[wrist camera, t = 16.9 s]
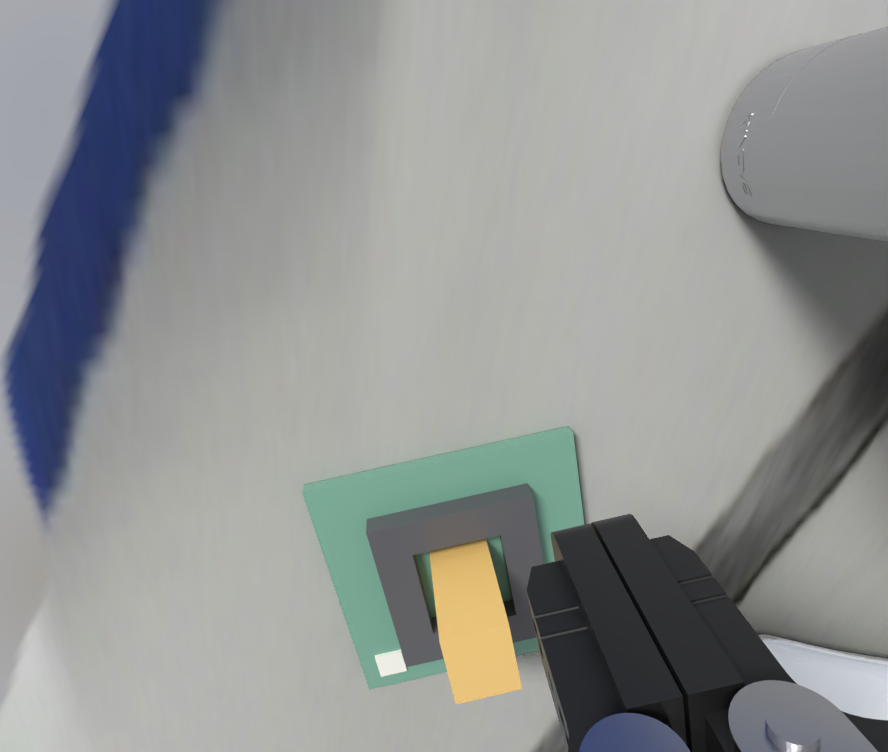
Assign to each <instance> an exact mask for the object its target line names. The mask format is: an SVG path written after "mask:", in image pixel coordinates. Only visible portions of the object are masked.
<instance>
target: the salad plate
mask: <svg viewBox="0 0 888 752" xmlns="http://www.w3.org/2000/svg"><path fill="white" fill-rule="evenodd" d="M758 636H759V637H760V638H761V640H762V641H763V642H764V644H765V645H766V646H767V648H768V649H769V650H770V651H771V653H772V654H773V655H774V657H775V658H776V659H777V661H778V662H779V663H780V665H781V666H782V667H783V668H784V670H785V671H786V672H787V674H788V675H789V676H790V677H791V678H792V679H793V680H794V681H795V682H796V683H797V684H798V685H800V686H803V687H806V688H808V689H810V690H812V691H814V692H816V693H818V694H820V695H821V696H823V697H825V698H826V699H827V700H829V701H830V702H831V703H833V704H834V705H835V706H836V707H837V708H838V709H839V710H840V711H843V712H846V713H848V714H852V715H856V716H860V717H864V718H871V719H878V720H888V659H887V658H881V657H874V656H867V655H861V654H855V653H850V652H844V651H838V650H833V649H828V648H823V647H818V646H814V645H809V644H805V643H801V642H797V641H792V640H788V639H784V638H780V637H776V636H771V635H764V634H762V635H758Z"/></svg>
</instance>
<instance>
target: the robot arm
mask: <svg viewBox="0 0 888 752" xmlns="http://www.w3.org/2000/svg"><path fill="white" fill-rule="evenodd" d="M721 167H722V176H723V179H724V182H725V185H726V188H727V191H728V192H729V194H730V196H731V197H732V199H733V200H734V202H735V204H736V205H737V206H738V207H740V208H741V209H742V210H743V211H744V212H745V213H746V214H747V215H749V216H751V217H753V218H755V219H756V220H758V221H762V222H766V223H770V224H774V225H781V226H788V227H794V228H801V229H808V230H814V231H819V232H825V233H832V234H839V235H846V236H852V237H859V238H866V239H873V240H880V241H886V242H888V27H885V28H881V29H878V30H874V31H870V32H867V33H863V34H859V35H855V36H851V37H847V38H844V39H840V40H837V41H833V42H829V43H826V44H822V45H819V46H815V47H812V48H808V49H804V50H801V51H797V52H794V53H792V54H789V55H787V56H785V57H783V58H780V59H778V60H776V61H775V62H774V63H772V64H771V65H769V66H768V67H767V68H765V69H764V70H762V71H761V72H760V73H759V74H758V75H757V76H756V77H755V78H754V79H753V80H752V81H751V82H750V83H749V84H748V85H747V87H746V88H745V90H744V91H743V93H742V94H741V95H740V97H739V98H738V100H737V101H736V103H735V105H734V107H733V109H732V111H731V114H730V116H729V118H728V120H727V123H726V127H725V131H724V134H723V138H722V147H721ZM551 542H552V548H553V553H554V559H555V562H551V563H547V564H542V565H538V566H534V567H531V572H530V577H529V581H528V586H527V595H528V600H529V605H530V610H531V614H532V619H533V624H534V629H535V633H536V638H537V643H538V648H539V653H540V656H541V659H542V663H543V666H544V670H545V673H546V677H547V680H548V684H549V687H550V691H551V694H552V698H553V701H554V704H555V708H556V711H557V715H558V718H559V722H560V725H561V729H562V732H563V736H564V739H565V743H566V746H567V750H568V752H888V720H878V719H871V718H864V717H860V716H856V715H852V714H848V713H846V712H843V711H840V710H839V709H838V708H837V707H836V706H835V705H834V704H833V703H831V702H830V701H829V700H827V699H826V698H825V697H823V696H821V695H820V694H818V693H816V692H814V691H812V690H810V689H808V688H806V687H803V686H800V685H798V684H797V683H796V682H795V681H794V680H793V679H792V678H791V677H790V676H789V675H788V674H787V672H786V671H785V670H784V668H783V667H782V666H781V665H780V663H779V662H778V661H777V659H776V658H775V657H774V655H773V654H772V653H771V651H770V650H769V649H768V648H767V646H766V645H765V644H764V642H763V641H762V640H761V638H760V637H759V636H758V634H757V633H756V632H755V630H754V629H753V628H752V627H751V625H750V624H749V623H748V621H747V620H746V619H745V617H744V616H743V615H742V613H741V612H740V611H739V610H738V608H737V607H736V606H735V604H734V603H733V602H732V600H731V599H730V598H727V596H726V592H725V591H724V590H723V589H722V587H721V586H720V585H719V583H718V582H717V581H716V579H715V578H714V579H713V578H712V575H711V573H710V572H709V570H708V569H707V568H706V566H705V565H704V564H703V562H702V561H701V560H700V558H699V557H698V556H697V554H696V553H695V552H694V551H693V550H691V549H689V548H688V547H686V546H685V545H683V544H682V543H680V542H678V541H677V540H675V539H674V538H672V537H671V536H669V535H667V536H663V537H659V538H654V539H650V540H649V538H648V537H647V535H646V534H645V532H644V531H643V529H642V528H641V526H640V525H639V523H638V522H637V520H636V519H635V518H634V516H633V515H631V514H627V515H623V516H618V517H614V518H610V519H605V520H601V521H597V522H592V523H591V525H590V524H584V525H580V526H576V527H571V528H567V529H563V530H558V531H554V532H551Z"/></svg>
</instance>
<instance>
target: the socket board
mask: <svg viewBox="0 0 888 752" xmlns="http://www.w3.org/2000/svg"><path fill="white" fill-rule="evenodd" d="M303 496H304V499H305V502H306V505H307V508H308V511H309V514H310V517H311V520H312V522H313V525H314V528H315V531H316V534H317V537H318V540H319V543H320V546H321V549H322V552H323V555H324V558H325V561H326V564H327V566H328V569H329V572H330V575H331V578H332V581H333V584H334V587H335V590H336V593H337V596H338V599H339V602H340V605H341V608H342V610H343V613H344V616H345V619H346V622H347V625H348V628H349V631H350V634H351V637H352V640H353V643H354V646H355V649H356V652H357V654H358V657H359V660H360V663H361V666H362V669H363V672H364V675H365V678H366V681H367V684H368V687H369V689H373V688H378V687H382V686H386V685H391V684H395V683H399V682H404V681H408V680H412V679H417V678H421V677H425V676H430V675H434V674H438V673H443V672H447V669H446V665H445V661H444V657H443V654H442V650H441V646H440V642H439V634H438V625H437V616H436V607H435V598H434V589H433V580H432V571H431V563H430V554H429V551H433V550H438V549H442V548H447V547H451V546H455V545H460V544H464V543H469V542H473V541H478V540H482V539H486V541H487V544H488V548H489V552H490V556H491V559H492V563H493V567H494V571H495V574H496V578H497V582H498V585H499V589H500V593H501V597H502V600H503V604H504V608H505V611H506V615H507V619H508V623H509V627H510V632H511V637H512V642H513V647H514V651H515V656H516V655H521V654H525V653H529V652H534V651H538V650H539V648H538V643H537V638H536V633H535V629H534V624H533V619H532V614H531V610H530V605H529V600H528V595H527V586H528V581H529V577H530V572H531V567H534V566H538V565H542V564H547V563H551V562H555V559H554V553H553V548H552V542H551V532H554V531H558V530H563V529H567V528H571V527H576V526H580V525H584V517H583V509H582V501H581V493H580V484H579V476H578V468H577V460H576V451H575V443H574V435H573V432H572V430H571V429H570V427H569V426H567V427H562V428H558V429H553V430H549V431H544V432H540V433H535V434H531V435H526V436H522V437H517V438H513V439H508V440H504V441H499V442H495V443H490V444H486V445H481V446H477V447H472V448H468V449H463V450H459V451H454V452H450V453H445V454H441V455H436V456H432V457H427V458H423V459H418V460H414V461H409V462H405V463H400V464H396V465H391V466H387V467H382V468H377V469H373V470H368V471H364V472H359V473H355V474H350V475H346V476H341V477H337V478H332V479H328V480H323V481H319V482H314V483H310V484H305V485H304V489H303Z"/></svg>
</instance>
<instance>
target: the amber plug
mask: <svg viewBox="0 0 888 752" xmlns="http://www.w3.org/2000/svg"><path fill="white" fill-rule="evenodd" d="M429 554H430V563H431V571H432V580H433V589H434V598H435V607H436V616H437V625H438V634H439V642H440V646H441V650H442V654H443V657H444V661H445V665H446V669H447V672H448V676H449V680H450V684H451V687H452V691H453V695H454V699H455V702H456V704H460V703H464V702H468V701H472V700H477V699H481V698H485V697H490V696H494V695H498V694H503V693H507V692H511V691H515V690H520V689H522V686H521V681H520V676H519V671H518V666H517V661H516V656H515V651H514V647H513V642H512V637H511V632H510V627H509V623H508V619H507V615H506V611H505V608H504V604H503V600H502V597H501V593H500V589H499V585H498V582H497V578H496V574H495V571H494V567H493V563H492V559H491V556H490V552H489V548H488V544H487V541H486V539H482V540H478V541H473V542H469V543H464V544H460V545H455V546H451V547H447V548H442V549H438V550H433V551H429Z"/></svg>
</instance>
